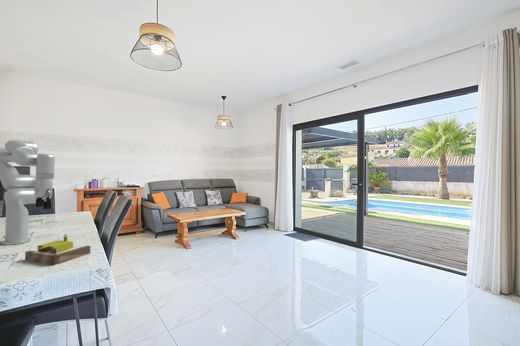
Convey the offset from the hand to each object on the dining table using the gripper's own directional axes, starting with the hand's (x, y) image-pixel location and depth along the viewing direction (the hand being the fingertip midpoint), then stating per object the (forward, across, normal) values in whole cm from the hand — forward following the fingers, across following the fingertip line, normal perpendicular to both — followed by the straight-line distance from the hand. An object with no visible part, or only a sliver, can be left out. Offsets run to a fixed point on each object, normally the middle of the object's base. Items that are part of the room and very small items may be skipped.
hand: (43, 207), depth 136 cm
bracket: (+23, +10, +1) cm, 25 cm away
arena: (+22, +22, -1) cm, 31 cm away
